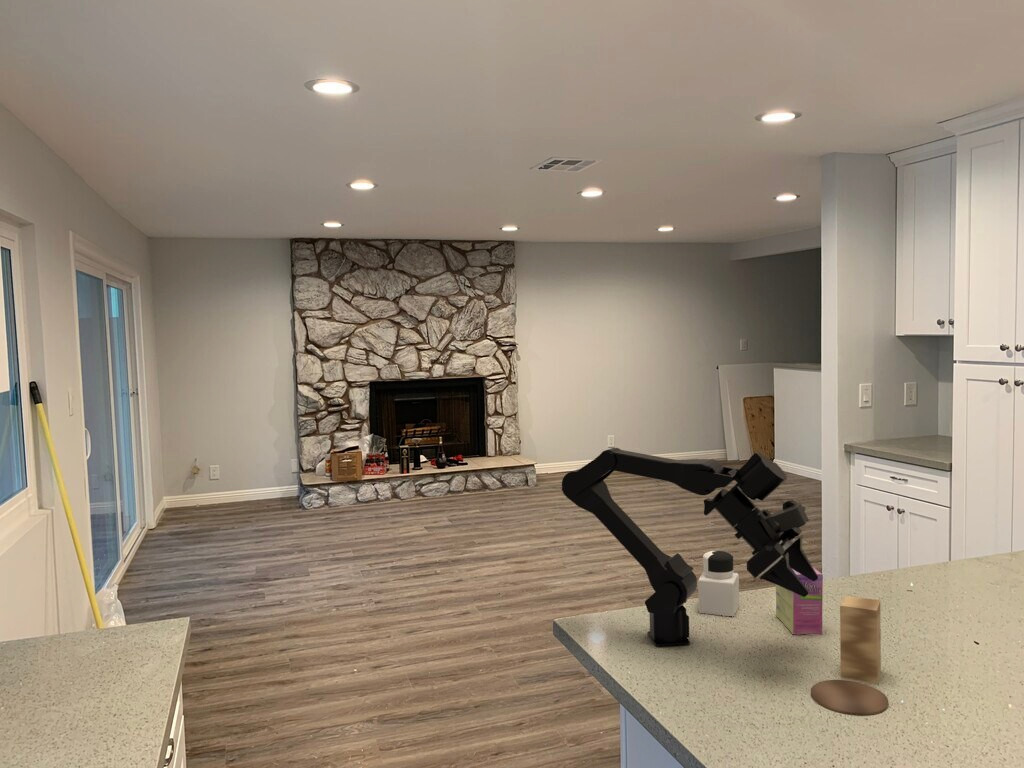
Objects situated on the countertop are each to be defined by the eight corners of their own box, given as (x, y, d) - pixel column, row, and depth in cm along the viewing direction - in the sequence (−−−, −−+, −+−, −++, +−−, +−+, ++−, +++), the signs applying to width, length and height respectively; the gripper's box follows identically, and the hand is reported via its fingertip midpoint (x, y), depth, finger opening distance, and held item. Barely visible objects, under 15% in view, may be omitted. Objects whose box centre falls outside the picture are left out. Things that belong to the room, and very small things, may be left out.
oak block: (840, 676, 127) (840, 605, 126) (845, 664, 132) (844, 595, 131) (877, 683, 124) (876, 610, 123) (880, 670, 129) (880, 600, 128)
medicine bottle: (739, 606, 162) (738, 550, 161) (734, 617, 155) (732, 559, 155) (705, 602, 165) (704, 547, 164) (698, 613, 158) (697, 556, 158)
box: (823, 634, 145) (823, 573, 144) (793, 635, 145) (792, 574, 144) (804, 615, 155) (803, 557, 155) (775, 616, 155) (774, 558, 155)
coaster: (832, 717, 113) (832, 714, 113) (798, 685, 124) (798, 682, 124) (903, 712, 114) (903, 709, 114) (863, 680, 125) (863, 677, 125)
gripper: (765, 497, 125) (839, 573, 120) (788, 478, 141) (854, 544, 136) (718, 540, 129) (787, 615, 124) (746, 517, 145) (808, 582, 140)
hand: (811, 587), depth 131 cm, fingers open, 9 cm apart
